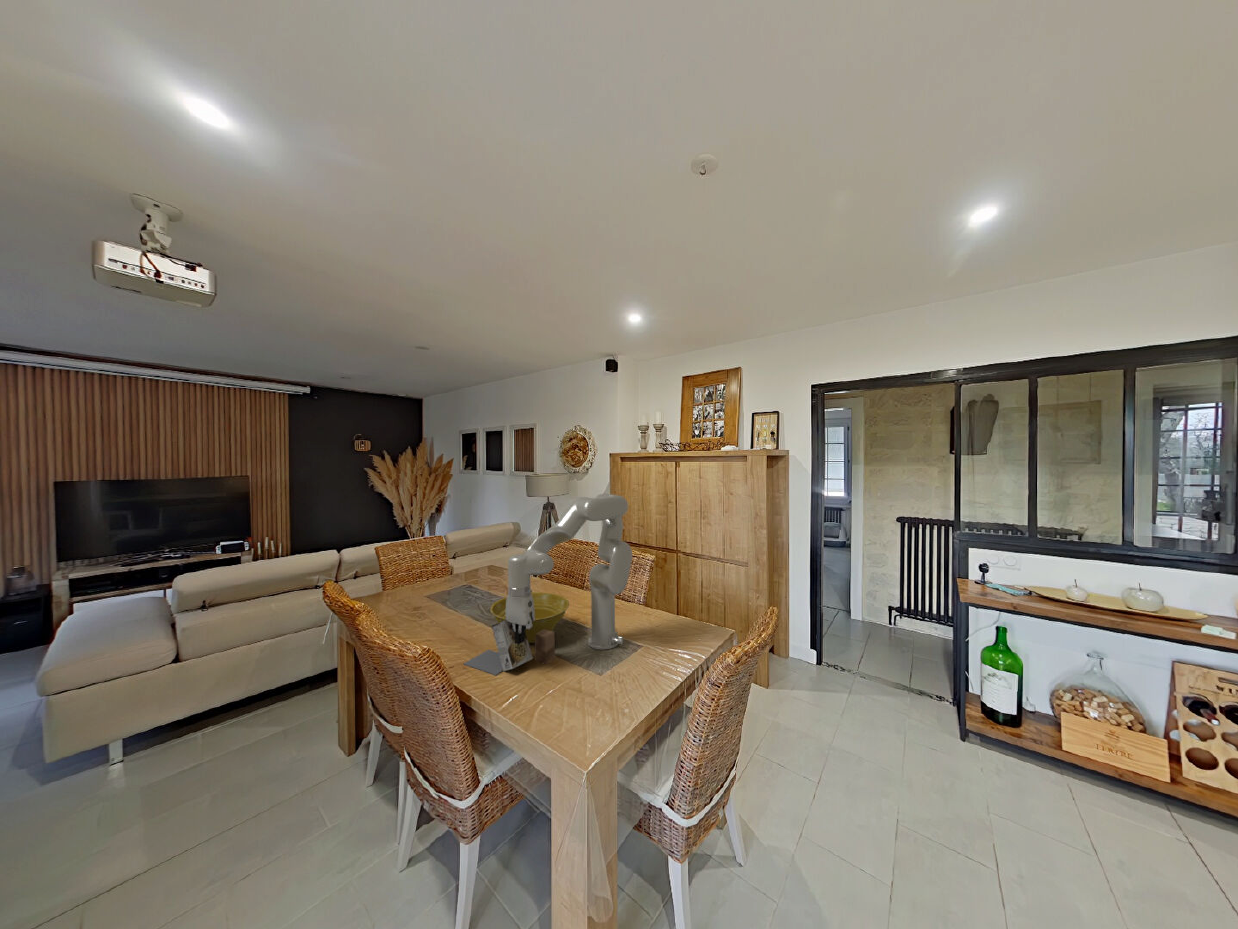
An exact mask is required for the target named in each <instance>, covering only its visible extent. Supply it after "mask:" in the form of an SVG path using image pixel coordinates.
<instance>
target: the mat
mask: <svg viewBox="0 0 1238 929" xmlns="http://www.w3.org/2000/svg"><path fill="white" fill-rule="evenodd" d="M463 665H464V666H466V667H470V668H473V669H475V670H478V671H480V672H481V671H482V672H483V673H487V674H490V675H493V676H498V675H499V674H501V673H503V672H504V671H503V667H502V664H501V660H500V656H499V652H498V651H494V650H491V649H487V650H485V651H483V652H481V653H480V654H478V655H476V656H474V657H473V658H471V659H469V660H468V661H467V660H466V662H464V663H463Z"/></svg>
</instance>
